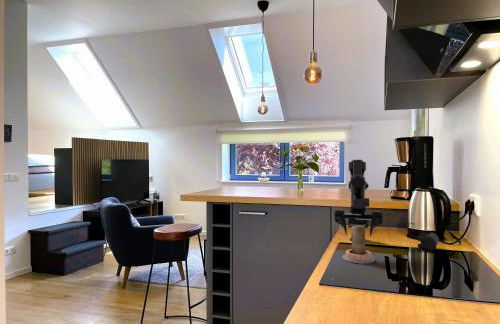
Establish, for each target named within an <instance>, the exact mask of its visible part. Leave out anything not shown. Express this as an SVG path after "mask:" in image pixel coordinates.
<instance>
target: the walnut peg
mask: <svg viewBox="0 0 500 324" xmlns="http://www.w3.org/2000/svg"><path fill="white" fill-rule="evenodd" d="M351 249H352V254H358V255H364V254H365V250H366V228H365V227H364V226H359V225H354V226H352V240H351Z"/></svg>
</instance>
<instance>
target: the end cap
mask: <svg viewBox="0 0 500 324" xmlns="http://www.w3.org/2000/svg"><path fill="white" fill-rule="evenodd" d="M417 241H418V242H420V243H417V251H418V250H422V251H421V252H423V251H429V252H428V253H431V252H432V251H434V250H435V249H436V248H437V245H438V244H439V242H440V238H439V236H438V235H437V234H436V233H434V232H430V233H424V232H420V234H419V235H418V236H417Z"/></svg>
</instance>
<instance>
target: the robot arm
mask: <svg viewBox="0 0 500 324" xmlns="http://www.w3.org/2000/svg"><path fill="white" fill-rule="evenodd" d="M348 171H349V175H350V179H349V180H350V181H348V190H350V210H349V213H347V212H345V210H344V209H335V210H334V212H333V213H334V223H337V224H338V225H340V226H341V227H342V229H343V232H344V234H345V235H348V230H347V221H346V219H347V220H348V228H351V230H350V231H351V232H350V233H351V235H350V238H349V240H350V241H352V226H354V225H359V226H364V227H365V229H368V228H369V221H370V228H369V237H371V236H372V234H373V232H374V230H375V228H376V227H379V226H381V225H382V224H383V219H384V215H383V212H382V211H378V210H372V211H371V214H366V211H367V210H366V208H368V207H370V198H369V197H366V195H365V194H366V190H368V188H369V183H368V182H367V181H366V177H365V172H367V163H366V162H365V161H363V159H352V160H351V161H350V162H348Z"/></svg>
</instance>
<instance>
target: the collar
mask: <svg viewBox="0 0 500 324" xmlns="http://www.w3.org/2000/svg"><path fill="white" fill-rule="evenodd" d="M343 259H344V260H343ZM342 260H343V261H345V262H347V261H348V262H347V263H350V262H353V263H352V264H356V263H358V264H357V265H368V264H373V263H374V262H375V257H374V256H373V255H372V252H371V251H370V250H366V249H365V254H364V255H358V254H352V248H349V249H346V250H345V254H343V255H342Z"/></svg>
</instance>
